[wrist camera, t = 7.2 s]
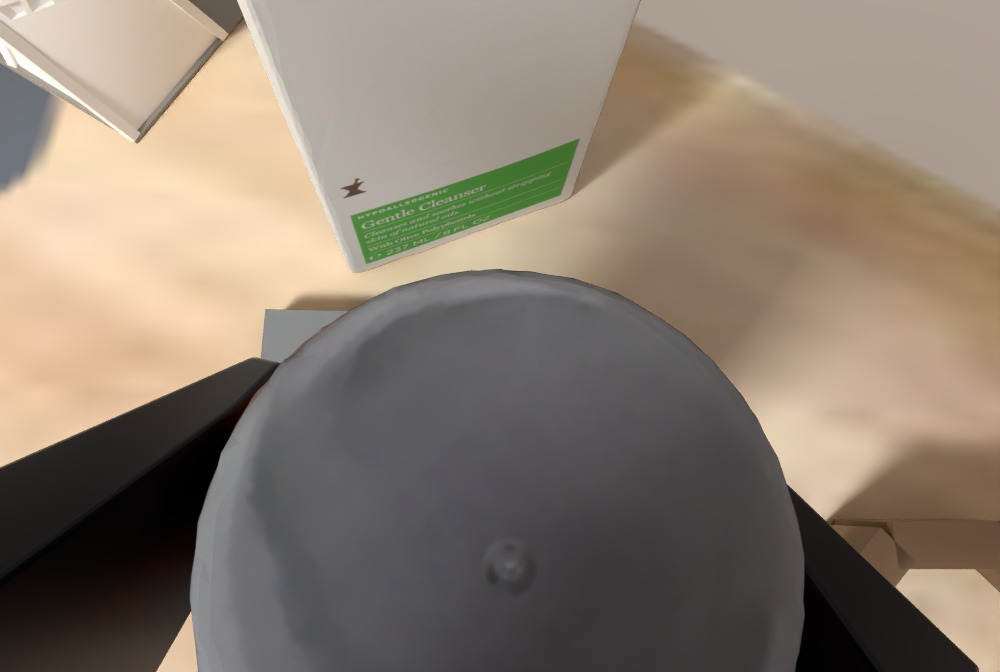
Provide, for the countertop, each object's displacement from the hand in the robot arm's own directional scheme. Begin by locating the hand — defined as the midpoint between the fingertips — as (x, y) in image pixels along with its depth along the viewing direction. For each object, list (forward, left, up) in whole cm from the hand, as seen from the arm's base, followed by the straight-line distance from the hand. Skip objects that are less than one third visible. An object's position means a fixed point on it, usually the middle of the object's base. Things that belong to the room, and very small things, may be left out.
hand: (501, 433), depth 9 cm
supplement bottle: (-1, 0, -7) cm, 7 cm away
